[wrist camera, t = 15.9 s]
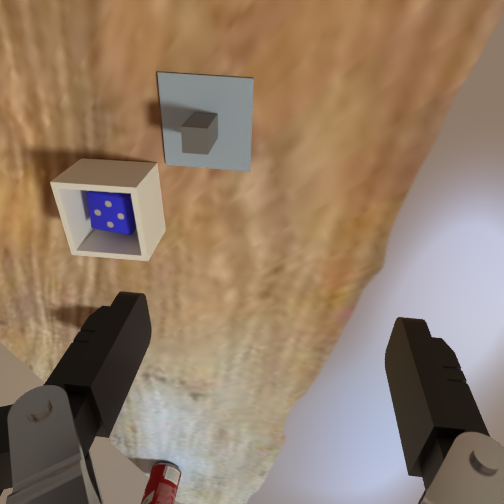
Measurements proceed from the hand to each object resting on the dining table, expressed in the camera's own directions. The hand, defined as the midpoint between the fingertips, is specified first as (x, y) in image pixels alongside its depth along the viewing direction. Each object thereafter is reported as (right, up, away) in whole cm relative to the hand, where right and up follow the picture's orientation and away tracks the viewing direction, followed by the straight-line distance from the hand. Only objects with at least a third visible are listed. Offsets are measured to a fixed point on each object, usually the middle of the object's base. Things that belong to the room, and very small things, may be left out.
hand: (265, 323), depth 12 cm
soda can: (-20, -47, +76) cm, 91 cm away
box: (-17, +9, +36) cm, 41 cm away
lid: (-5, +17, +30) cm, 35 cm away
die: (-17, +10, +36) cm, 41 cm away
